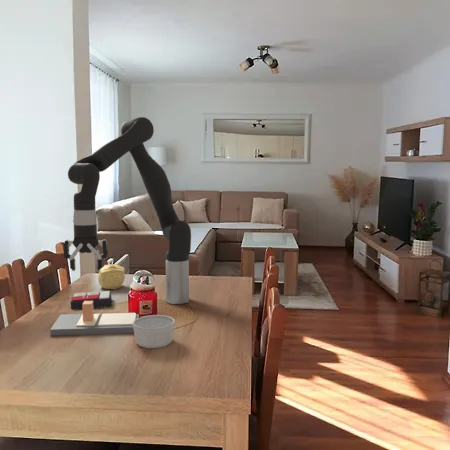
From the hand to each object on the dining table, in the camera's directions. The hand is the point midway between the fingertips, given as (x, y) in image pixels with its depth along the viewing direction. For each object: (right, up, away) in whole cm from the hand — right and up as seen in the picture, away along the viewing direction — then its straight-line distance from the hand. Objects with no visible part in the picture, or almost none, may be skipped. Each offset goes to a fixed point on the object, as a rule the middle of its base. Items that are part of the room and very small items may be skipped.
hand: (86, 270), depth 174 cm
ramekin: (+25, -22, -12) cm, 35 cm away
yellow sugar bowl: (-3, -13, +54) cm, 56 cm away
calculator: (-6, -17, +29) cm, 34 cm away
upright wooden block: (0, -18, +2) cm, 18 cm away
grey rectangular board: (+3, -20, +3) cm, 20 cm away
